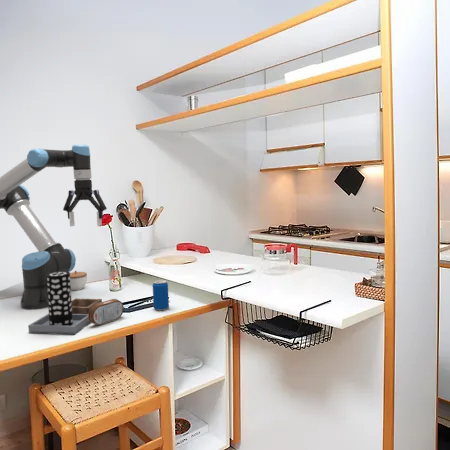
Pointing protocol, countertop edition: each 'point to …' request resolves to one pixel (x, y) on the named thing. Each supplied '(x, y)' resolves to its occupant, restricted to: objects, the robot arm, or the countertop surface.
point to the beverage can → (160, 295)
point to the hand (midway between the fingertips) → (85, 226)
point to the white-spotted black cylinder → (59, 298)
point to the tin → (106, 311)
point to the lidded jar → (78, 280)
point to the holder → (83, 305)
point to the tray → (45, 328)
